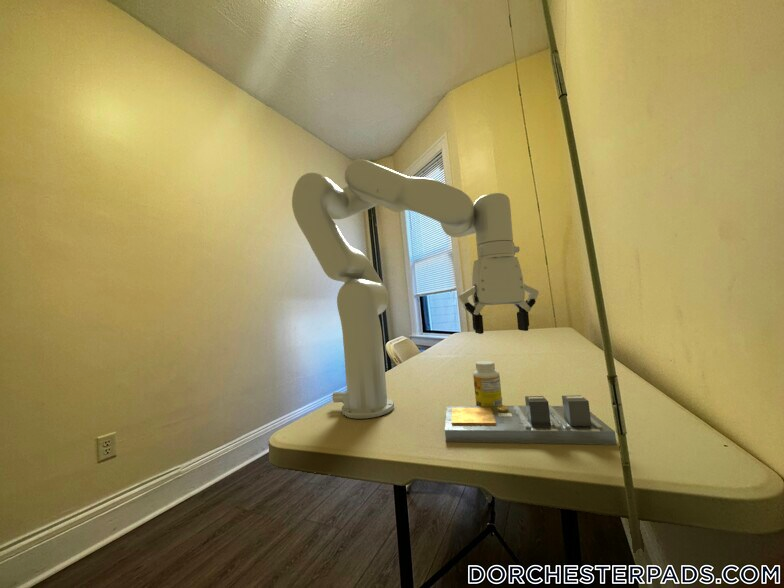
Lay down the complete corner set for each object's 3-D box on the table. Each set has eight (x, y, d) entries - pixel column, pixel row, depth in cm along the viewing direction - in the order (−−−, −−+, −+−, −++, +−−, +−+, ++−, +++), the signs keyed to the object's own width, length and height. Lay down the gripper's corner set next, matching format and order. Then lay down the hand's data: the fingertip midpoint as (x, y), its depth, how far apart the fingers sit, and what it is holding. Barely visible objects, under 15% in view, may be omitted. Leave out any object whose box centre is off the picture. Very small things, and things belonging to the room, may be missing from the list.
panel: (445, 441, 50) (442, 405, 50) (447, 415, 62) (445, 386, 62) (616, 444, 45) (611, 403, 45) (582, 415, 56) (579, 383, 57)
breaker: (571, 425, 48) (568, 400, 48) (564, 418, 50) (561, 394, 51) (591, 426, 47) (588, 399, 47) (583, 418, 50) (580, 394, 50)
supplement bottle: (477, 404, 67) (473, 360, 68) (502, 405, 65) (498, 359, 66) (475, 413, 62) (471, 365, 63) (503, 414, 60) (498, 364, 61)
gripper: (524, 254, 67) (531, 328, 66) (451, 257, 66) (456, 333, 65) (543, 247, 60) (550, 330, 59) (461, 251, 59) (467, 336, 58)
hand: (501, 331), depth 62 cm, fingers open, 9 cm apart
